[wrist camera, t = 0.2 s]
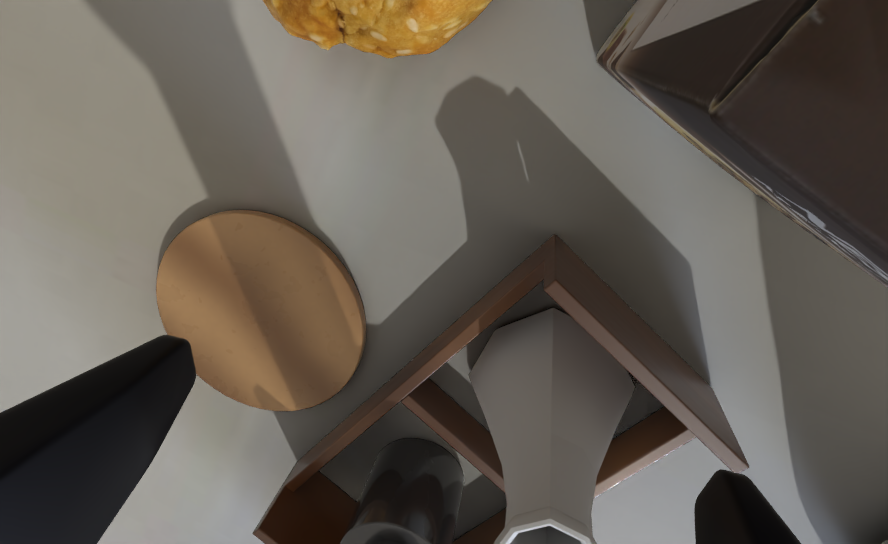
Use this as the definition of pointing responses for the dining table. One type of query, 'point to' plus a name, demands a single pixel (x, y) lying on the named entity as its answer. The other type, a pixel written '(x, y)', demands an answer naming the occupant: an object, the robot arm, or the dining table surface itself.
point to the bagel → (377, 23)
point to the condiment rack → (594, 308)
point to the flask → (549, 423)
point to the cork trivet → (262, 309)
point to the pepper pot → (408, 497)
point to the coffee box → (775, 103)
